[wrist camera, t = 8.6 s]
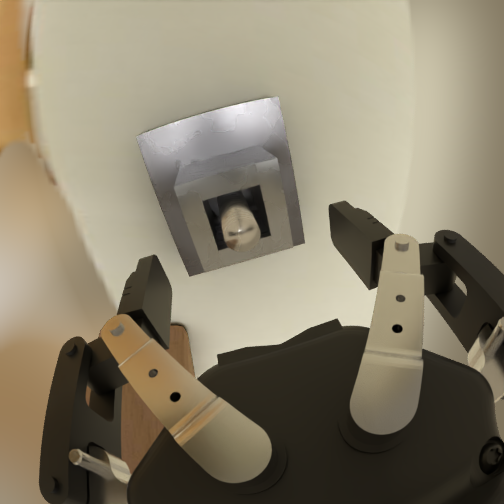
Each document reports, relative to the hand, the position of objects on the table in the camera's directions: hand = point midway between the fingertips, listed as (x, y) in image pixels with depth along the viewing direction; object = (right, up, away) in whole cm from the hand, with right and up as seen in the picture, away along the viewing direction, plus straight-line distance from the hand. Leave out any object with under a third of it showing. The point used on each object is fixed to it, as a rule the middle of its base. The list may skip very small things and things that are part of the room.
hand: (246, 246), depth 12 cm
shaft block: (-2, +5, +9) cm, 11 cm away
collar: (-1, +4, +7) cm, 9 cm away
